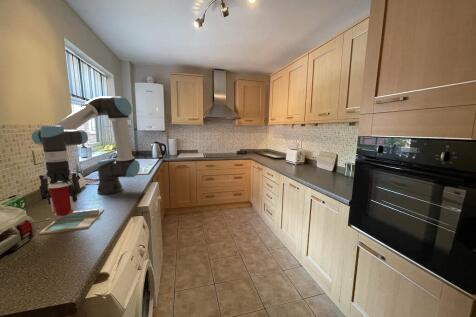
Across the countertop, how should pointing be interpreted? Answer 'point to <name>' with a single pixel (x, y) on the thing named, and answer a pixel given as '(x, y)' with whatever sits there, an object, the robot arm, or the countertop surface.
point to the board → (70, 224)
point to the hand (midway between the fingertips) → (64, 209)
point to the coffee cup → (60, 198)
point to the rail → (79, 214)
